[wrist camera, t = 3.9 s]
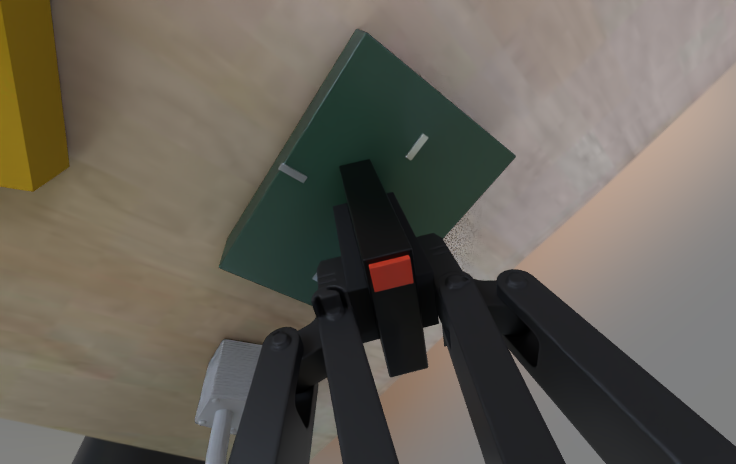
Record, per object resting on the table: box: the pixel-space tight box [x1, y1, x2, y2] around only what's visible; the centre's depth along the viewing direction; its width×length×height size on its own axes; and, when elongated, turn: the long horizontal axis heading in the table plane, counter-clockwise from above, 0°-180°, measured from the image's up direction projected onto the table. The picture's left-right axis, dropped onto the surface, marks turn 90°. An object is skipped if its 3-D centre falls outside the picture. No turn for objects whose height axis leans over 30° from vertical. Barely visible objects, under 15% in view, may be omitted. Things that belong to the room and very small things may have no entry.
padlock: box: [195, 339, 262, 464], centre depth 24 cm, size 7×4×10 cm, turn 57°
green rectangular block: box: [219, 29, 516, 306], centre depth 21 cm, size 14×10×3 cm
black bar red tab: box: [339, 159, 428, 377], centre depth 16 cm, size 6×2×8 cm, turn 10°
